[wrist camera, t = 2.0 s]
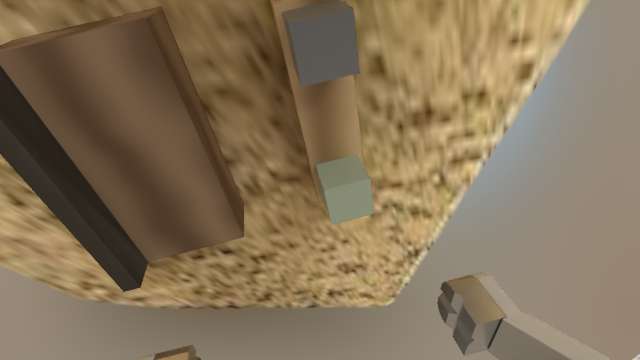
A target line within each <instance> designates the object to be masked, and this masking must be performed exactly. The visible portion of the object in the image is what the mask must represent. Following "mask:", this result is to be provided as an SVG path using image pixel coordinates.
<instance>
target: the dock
mask: <svg viewBox="0 0 640 360" xmlns="http://www.w3.org/2000/svg"><path fill="white" fill-rule="evenodd" d="M0 154H1V155H2V156H3V157H4V158H5V159H6V161H7V162H8V163H9V164H10V165H11V166H12V167H13V168H14V170H15V171H16V172H17V173H18V174H19V175H20V176H21V177H22V178H23V180H24V181H25V182H26V183H27V184H28V185H29V186H30V187H31V189H32V190H33V191H34V192H35V193H36V194H37V195H38V196H39V197H40V199H41V200H42V201H43V202H44V203H45V204H46V205H47V206H48V208H49V209H50V210H51V211H52V212H53V213H54V214H55V215H56V216H57V218H58V219H59V220H60V221H61V222H62V223H63V224H64V225H65V227H66V228H67V229H68V230H69V231H70V232H71V233H72V234H73V235H74V237H75V238H76V239H77V240H78V241H79V242H80V243H81V244H82V246H83V247H84V248H85V249H86V250H87V251H88V252H89V253H90V254H91V256H92V257H93V258H94V259H95V260H96V261H97V262H98V263H99V265H100V266H101V267H102V268H103V269H104V270H105V271H106V272H107V273H108V275H109V276H110V277H111V278H112V279H113V280H114V281H115V282H116V284H117V285H118V286H119V287H120V288H121V289H122V290H123V291H124V292H125V291H129V290H133V289H137V288H140V287H141V284H142V281H143V278H144V274H145V271H146V268H147V264H148V262H150V261H153V260H157V259H161V258H165V257H169V256H173V255H176V254H180V253H184V252H188V251H192V250H196V249H199V248H203V247H207V246H211V245H215V244H219V243H222V242H226V241H230V240H234V239H238V238H242V237H244V204H243V202H242V199H241V197H240V195H239V192H238V190H237V187H236V185H235V183H234V180H233V178H232V175H231V173H230V170H229V168H228V166H227V163H226V161H225V158H224V156H223V154H222V151H221V149H220V146H219V144H218V142H217V139H216V137H215V134H214V132H213V130H212V127H211V125H210V122H209V120H208V118H207V115H206V113H205V110H204V108H203V106H202V103H201V101H200V98H199V96H198V94H197V91H196V89H195V86H194V84H193V82H192V79H191V77H190V74H189V72H188V70H187V67H186V65H185V62H184V60H183V58H182V55H181V53H180V50H179V48H178V46H177V43H176V41H175V38H174V36H173V34H172V31H171V29H170V26H169V24H168V22H167V19H166V17H165V14H164V12H163V9H162V7H159V8H154V9H150V10H145V11H141V12H136V13H132V14H128V15H123V16H119V17H114V18H110V19H105V20H101V21H96V22H92V23H88V24H83V25H79V26H74V27H70V28H65V29H61V30H56V31H52V32H48V33H43V34H39V35H34V36H30V37H25V38H21V39H16V40H12V41H10V42H7V43H5V44H3V45H0Z"/></svg>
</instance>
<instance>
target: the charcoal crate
mask: <svg viewBox="0 0 640 360" xmlns="http://www.w3.org/2000/svg"><path fill="white" fill-rule="evenodd" d="M282 15H283V19H284V24H285V28H286V33H287V37H288V42H289V46H290V51H291V55H292V60H293V64H294V69H295V71H296V74H297V76H298V79H299V81H300V84H301V86H302V87H304V86H308V85H313V84H317V83H321V82H325V81H329V80H333V79H337V78H341V77H346V76H350V75H354V74H358V73H360V71H359V61H358V51H357V42H356V32H355V22H354V13H353V8H352V7H350V6H349V5H347V4H345V3H344V2H342V1H340V0H332V1H327V2H323V3H319V4H314V5H310V6H306V7H301V8H297V9H293V10H288V11H284V12H282Z"/></svg>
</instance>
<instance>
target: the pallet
mask: <svg viewBox="0 0 640 360" xmlns="http://www.w3.org/2000/svg"><path fill="white" fill-rule="evenodd" d="M327 1H332V0H270V3H271V7H272V11H273V16H274V20H275V24H276V28H277V33H278V37H279V40H280V43H281V45H282V49H283V54H284V58H285V62H286V66H287V71H288V75H289V79H290V83H291V88H292V89H291V92H292V96H293V100H294V105H295V109H296V113H297V117H298V121H299V124H300V127H301V130H302V135H303V139H304V143H305V147H306V152H307V156H308V157H307V160H308V164H309V168H310V172H311V177H312V181H313V184H314V187H315V191H316V194H317V198H318V201H319V202H322V201H324V199H323V196H322V191H321V187H320V182H319V178H318V173H317V169H316V165H317V164H321V163H325V162H329V161H332V160H336V159H340V158H344V157H348V156H352V155H356V154H357V155H358V156H359V158H360V160H361V162H362V164H363V166H364V161H363V152H362V144H361V135H360V126H359V117H358V109H357V100H356V91H355V82H354V75H350V76H346V77H341V78H337V79H333V80H329V81H325V82H321V83H317V84H313V85H308V86H304V87H302V86H301V84H300V81H299V79H298V76H297V74H296V71H295V69H294V64H293V60H292V55H291V51H290V46H289V42H288V37H287V33H286V28H285V24H284V19H283V15H282V12H284V11H288V10H293V9H297V8H301V7H306V6H310V5H314V4H319V3H323V2H327ZM340 1H342V2H344V3H345V0H340Z"/></svg>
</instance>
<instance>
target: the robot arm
mask: <svg viewBox="0 0 640 360" xmlns="http://www.w3.org/2000/svg"><path fill="white" fill-rule="evenodd" d="M441 290H442V291H443V293H442V294H441V295H440V296H439V297H438V302H437V303H438V308H439V312H440V315H441V317H442V319H443V320H444V322H445V324H446V325H448V326H449V327H451V328H452V329H453V338H454V339H455V341H456V343H457V344H458V346H459V348H460V349H461V351H462V353H463V355H464V356H465V355H469V354H473V353H477V352H481V351H485V350H488V352H490V353H491V354H492V355H494V356H495V357H496V358H498V359H499V360H610V359H609V358H608V357H606V356H604V355H602V354H600V353H599V352H597V351H595V350H593V349H591V348H589V347H588V346H586V345H584V344H582V343H580V342H579V341H576V340H575V339H573V338H571V337H569V336H568V335H566V334H564V333H562V332H560V331H558V330H557V329H555V328H553V327H551V326H549V325H547V324H546V323H544V322H542V321H540V320H538V319H537V318H535V317H533V316H531V315H529V314H527V313H521V312H520V311H519V310H518V308H517V307H516V306H515V305H514V304H513V302H512V301H511V300H510V299H509V297H508V296H507V295H506V294H505V292H504V291H503V290H502V289H501V288H500V286H499V285H498V284H497V283H496V282H495V280H494V279H493V278H492V277H491V275H490V274H488V273H487V272H480V273H476V274H473V275H468V276H464V277H460V278H457V279H453V280H449V281H445V282H444V283H442V285H441ZM195 355H196V350H195V348H194V347H193V345H190V346H186V347H182V348H178V349H174V350H170V351H166V352H162V353H156V354H153V355H149V356H145V357H141V358H138V359H137V360H201V359H200V358H199V357H196V356H195Z"/></svg>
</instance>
